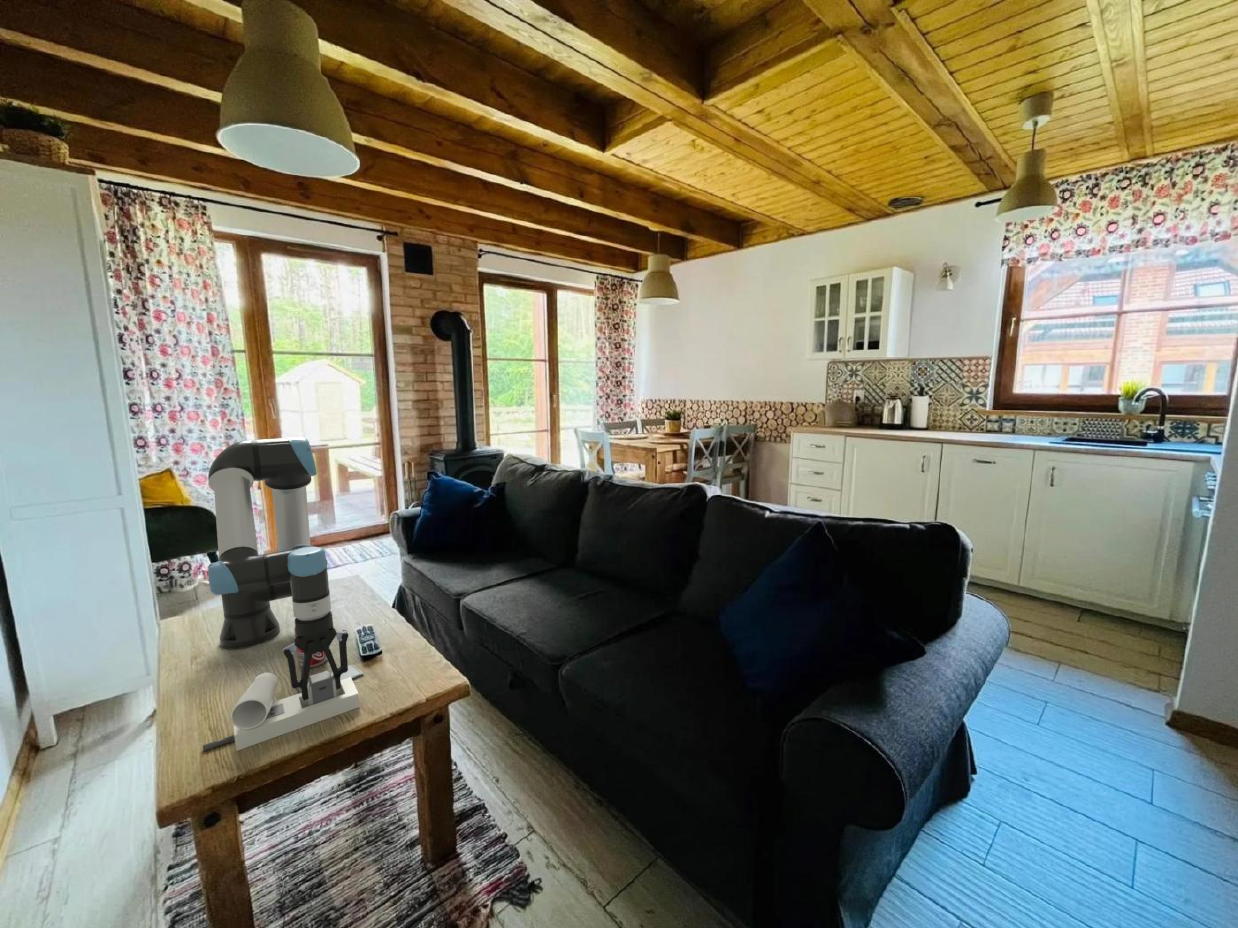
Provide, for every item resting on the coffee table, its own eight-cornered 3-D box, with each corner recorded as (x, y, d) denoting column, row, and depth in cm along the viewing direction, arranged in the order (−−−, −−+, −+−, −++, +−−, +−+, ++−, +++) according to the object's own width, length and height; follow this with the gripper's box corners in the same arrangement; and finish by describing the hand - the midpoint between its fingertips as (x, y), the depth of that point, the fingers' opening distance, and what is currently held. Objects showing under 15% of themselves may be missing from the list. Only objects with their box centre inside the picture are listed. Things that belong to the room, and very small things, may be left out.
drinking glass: (242, 683, 121) (221, 716, 107) (267, 662, 123) (251, 692, 109) (263, 701, 123) (247, 736, 109) (289, 680, 125) (275, 712, 111)
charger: (312, 707, 122) (308, 675, 121) (332, 700, 125) (328, 669, 124) (315, 716, 119) (311, 683, 118) (335, 709, 122) (332, 677, 120)
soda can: (314, 670, 139) (309, 626, 137) (292, 668, 141) (287, 624, 139) (334, 657, 146) (329, 614, 144) (312, 655, 148) (307, 612, 146)
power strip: (203, 762, 105) (200, 744, 105) (204, 739, 112) (201, 722, 112) (359, 706, 123) (358, 690, 123) (352, 689, 130) (350, 674, 130)
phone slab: (296, 690, 131) (295, 686, 131) (352, 668, 142) (352, 663, 141) (306, 701, 127) (305, 697, 126) (363, 677, 137) (363, 672, 137)
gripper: (270, 631, 111) (282, 728, 114) (357, 609, 121) (366, 699, 125) (267, 619, 117) (279, 712, 120) (351, 599, 127) (359, 685, 131)
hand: (323, 705), depth 122 cm, fingers closed on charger, 4 cm apart
